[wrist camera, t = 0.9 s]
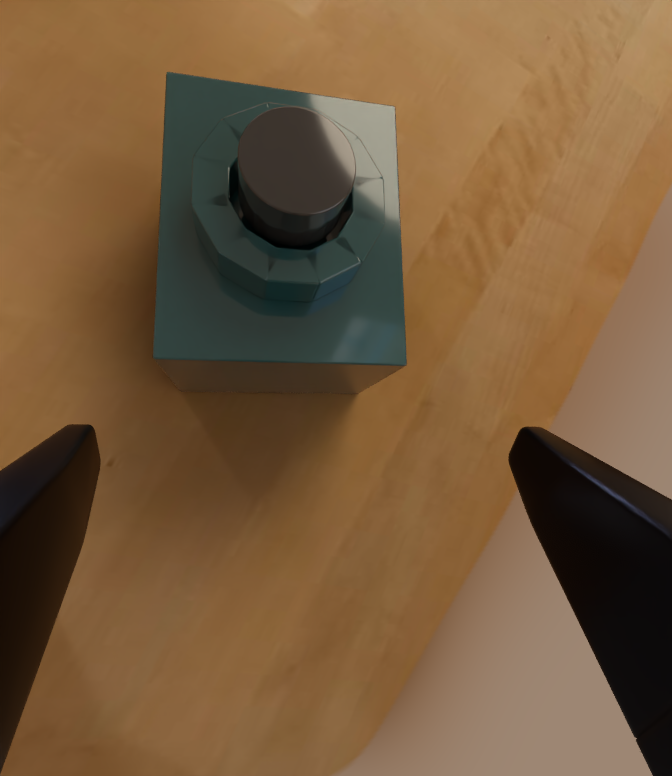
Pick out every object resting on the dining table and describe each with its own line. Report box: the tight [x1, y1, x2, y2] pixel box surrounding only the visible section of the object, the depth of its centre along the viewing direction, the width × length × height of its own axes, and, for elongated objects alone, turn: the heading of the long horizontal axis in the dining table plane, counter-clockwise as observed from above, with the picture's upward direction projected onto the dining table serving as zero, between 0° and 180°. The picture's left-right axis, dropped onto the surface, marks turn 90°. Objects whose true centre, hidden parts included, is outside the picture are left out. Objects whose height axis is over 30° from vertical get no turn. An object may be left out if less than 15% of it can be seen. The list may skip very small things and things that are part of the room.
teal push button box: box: [153, 72, 407, 394], centre depth 19 cm, size 11×9×9 cm
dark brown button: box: [237, 106, 356, 246], centre depth 15 cm, size 4×4×2 cm
